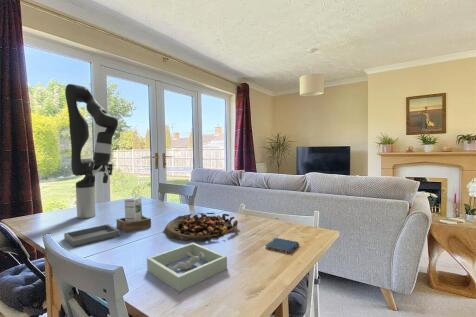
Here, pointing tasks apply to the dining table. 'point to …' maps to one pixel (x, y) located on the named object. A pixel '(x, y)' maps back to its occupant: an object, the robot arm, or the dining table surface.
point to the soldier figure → (189, 263)
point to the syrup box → (133, 209)
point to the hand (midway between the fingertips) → (98, 183)
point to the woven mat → (282, 245)
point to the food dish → (199, 227)
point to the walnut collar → (133, 224)
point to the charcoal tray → (91, 235)
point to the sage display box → (190, 277)
